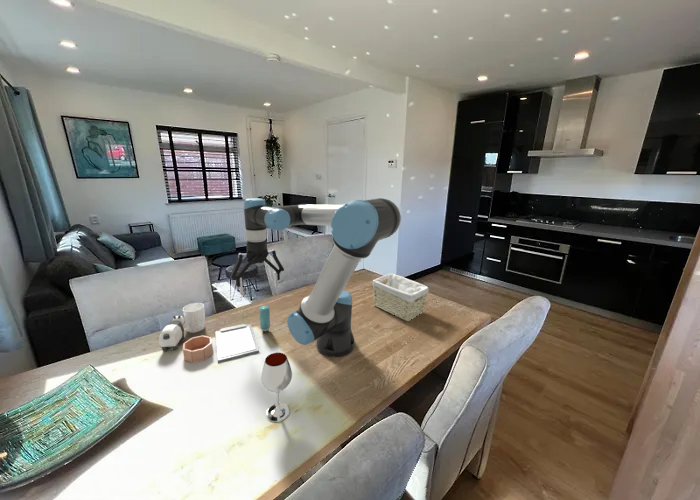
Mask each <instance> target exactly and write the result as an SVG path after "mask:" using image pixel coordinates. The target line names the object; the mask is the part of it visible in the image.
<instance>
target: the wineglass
mask: <svg viewBox="0 0 700 500" xmlns="http://www.w3.org/2000/svg"><path fill="white" fill-rule="evenodd" d="M262 366H263V367H262V371H261V375H260V376H261V377H260V381H261V384H262V386H263V387H264V388H265V390H266V391H268V392H271V393H275V394H276V395H275V398H276V403H274V404H272V405H271V406H269V408H268V409H267V410H266V417H267V419H268V420H269V421H270V422H272V423H280V422H283V421H284V420H286V419H287V418H288V417H289V414H290V412H291V410H290V407H289V405H287V403H284V402H283V403H282V402H280V392H282V391H284V390H285V389H287V387H288V386H289V385H290V383H291V381H292V377H293V371H292V367H291V364H290V362H289V359H288V357H287V354H285V353H283V352H278V351H277V352H273V353H270V354H268V355H267V356H266V357H265V359H264V363H263V365H262Z"/></svg>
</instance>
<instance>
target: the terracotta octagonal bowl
mask: <svg viewBox="0 0 700 500" xmlns="http://www.w3.org/2000/svg"><path fill="white" fill-rule="evenodd" d="M182 352H183V360H184V361H186V362H189V363H197V362H201V361H205V360H206V359H208V358H209V357H210V356H212V355H213V354H214V348H213V340H212V337H211V336H208V335H205V334H204V335H198V336H193V337H191V338H189V339H188V340H186V341H185V342H183V344H182Z"/></svg>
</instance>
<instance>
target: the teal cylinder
mask: <svg viewBox="0 0 700 500" xmlns="http://www.w3.org/2000/svg"><path fill="white" fill-rule="evenodd" d="M258 308H259V309H258V311H259V325H260V327H259V328H260V329H261V332H262V333H263V334H267V333H269V332H270V331H269V330H270V328H271V314H270V313H271V311H270V306H269V305H262V306H260V307H258Z"/></svg>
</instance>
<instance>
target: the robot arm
mask: <svg viewBox="0 0 700 500" xmlns="http://www.w3.org/2000/svg"><path fill="white" fill-rule="evenodd" d="M243 207H244V208H243V214H244V216H243V217H244V224H245V225H244V227H245V239H246V241H245V242H246V243H245V244H246V253H242V252H238V254H237V259H236V262H235V264H234V266H233V268H232V271H231V273H230V278H231V279H232V280H235V284H236V287H237V288H239V294H240V295H241V296H244V287H243V285H244V284H243V278H242V276H244V274H245V273H246V272H247V270H248V269H249V268H250V266H252V264H253V265H254V264H262V263H264V262H265V263H266V264H267V265H268V266H269V267H270V268H271V269H272V270H274V271H273V287H274V288H275V290H276V289H279V286H278V285H279V282H278V281H280V279H281V277H280V276H281V272H284V271H285V268H284V267H283V265H282V263H281V261H280V260H279V258H278V256H277V252H276V250H275V249H273V248H271V250H268V240H267V238H268V236H267V229H270V230H272V231H278V232H279V231H285V230H286V229H287V228H288V227H293V226H298V225H300V226H301V225H306V226H307V225H308V226H326V227H331V229H332V230H331V235H332V237H331V240H332V243H333V247H332V249H331V252H330V253H329V255H328V257H327V259H326V261H325V263H324V266H323V267H322V270H321V271H320V274H319V276H318V278H317V280H316V282H315V284H314V286H313V288H312V290H311V292H310V294H309V295H306V296H305V297H304V298H303V299H302V300H301V303H300V305H299V306H298V308H297V309H296V310H294V311H291V312H290V313H289V314H288V316H287V318H286V323H287V324H286V325H287V327H288V331H289V333H290V335H291V336H292V338H293V339H294V340H295V341H296V342H297V343H299V344H301V345H303V346H307V345H309V344H312V343H314V342H315V341H316V342H315V343H316V345H315V347H316V349H317V352H319V353H321V354H322V355H324V356H326V357H330V358H331V357H332V358H340V357H341V358H342V357H344V356H347V355H349V354H351V353H352V352H353V351H354V348H355V337H354V334H353V333H354V332H353V331H352V330H353V329H352V315H353V312H352V309H353V296H352V294H351V293H350V292H348V291H347V290H344V289H346V287H347V284H348V283H349V281H350V279H351V277H352V276H353V274H354V272H355V271H356V269H357V267H358V265H359V263H360V262H361V260H362V259H363V260H364V259H366V258H368V257H369V256H370V255H371V253H372V252H373V251H374V248H375V246H376V245H377V243H378V242H379V241H381V240H384V239H387V238H390V237H391V236H392V235H394V234H395V233H397V231H398V229H399V228H400V224H401V221H402V219H401V218H402V216H401V215H402V214H401V212H400V209H399V208H398V206H397V204H395V203H394V202H393V201H391V200H390V199H387V198H383V197H381V198H380V197H379V198H372V199H366V200H365V199H364V200H363V199H357V200H356V199H355V200H351V201H349V202H346V203H343V204H309V203H300V204H295V205H294V204H292V205H283V206H281V205H280V206H267V204H266V200H265V199H264V198H259V197H258V198H257V197H255V198H254V197H252V198H251V197H250V198H245V200H244V201H243ZM269 255H270V256H271V257H272V258H273V260H274V261H275V263H276V265H277V266H275V265H274V264H273V263H272V262H271V261H270V260H269V259H268V256H269ZM245 258H247V259H246V261H245V262H244V264H242V263H243V260H244V259H245ZM241 264H242V266H241ZM240 267H241V268H240ZM277 267H278V268H277Z"/></svg>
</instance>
